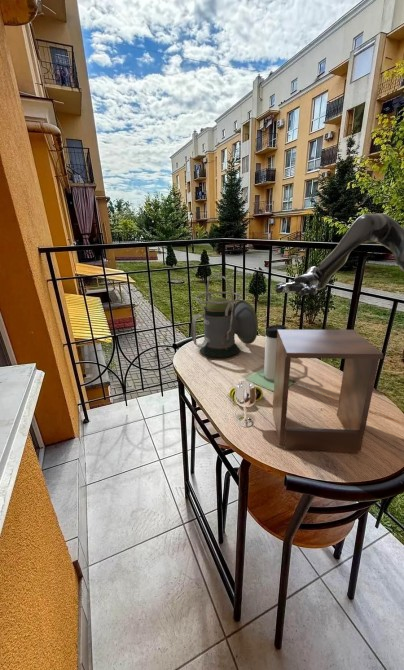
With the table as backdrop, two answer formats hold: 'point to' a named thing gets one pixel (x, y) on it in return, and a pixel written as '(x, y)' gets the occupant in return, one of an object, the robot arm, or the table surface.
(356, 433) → the cabinet
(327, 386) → the table surface
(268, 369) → the travel mug
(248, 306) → the lantern
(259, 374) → the green square mat
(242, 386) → the wineglass
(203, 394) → the table surface
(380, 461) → the table surface
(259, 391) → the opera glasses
